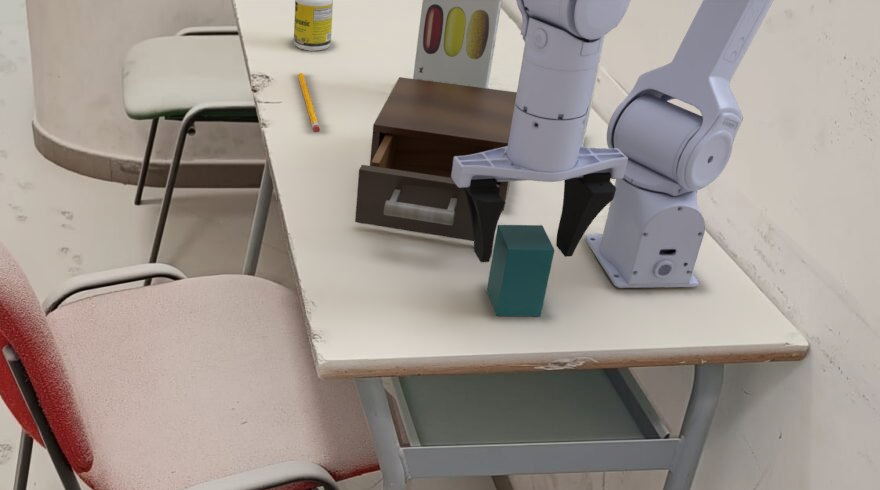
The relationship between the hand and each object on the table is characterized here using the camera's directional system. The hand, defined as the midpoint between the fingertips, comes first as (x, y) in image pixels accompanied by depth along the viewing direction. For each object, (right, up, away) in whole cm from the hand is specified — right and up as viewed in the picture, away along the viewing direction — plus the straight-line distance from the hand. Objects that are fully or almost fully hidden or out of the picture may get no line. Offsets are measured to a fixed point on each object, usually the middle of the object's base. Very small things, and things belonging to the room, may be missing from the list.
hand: (522, 253), depth 88 cm
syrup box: (+12, +16, +32) cm, 38 cm away
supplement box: (+1, +23, +43) cm, 49 cm away
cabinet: (-3, +11, +25) cm, 27 cm away
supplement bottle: (-17, +35, +59) cm, 71 cm away
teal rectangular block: (0, -4, +3) cm, 5 cm away
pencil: (-18, +22, +41) cm, 50 cm away
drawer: (-6, +6, +15) cm, 17 cm away
